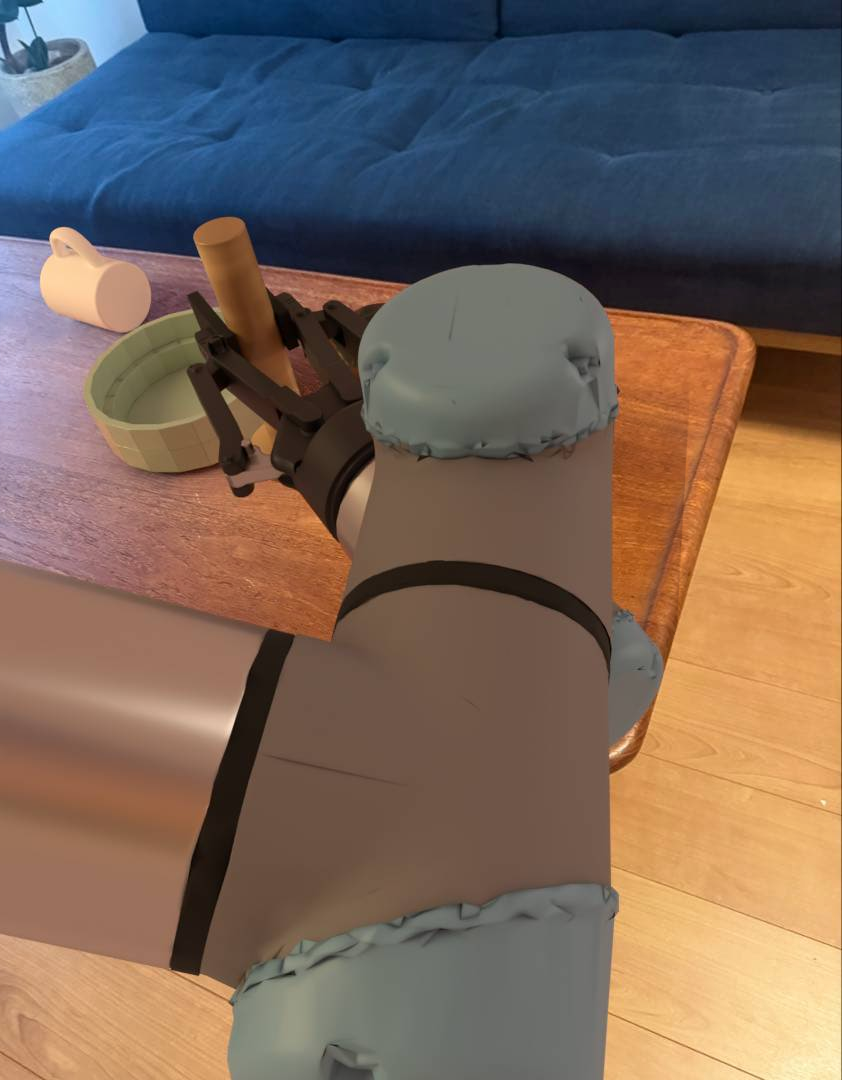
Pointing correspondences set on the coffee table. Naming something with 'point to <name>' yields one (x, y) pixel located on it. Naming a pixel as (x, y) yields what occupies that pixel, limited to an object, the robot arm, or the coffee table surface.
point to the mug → (93, 285)
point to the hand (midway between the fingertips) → (224, 299)
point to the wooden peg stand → (245, 305)
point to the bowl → (158, 398)
